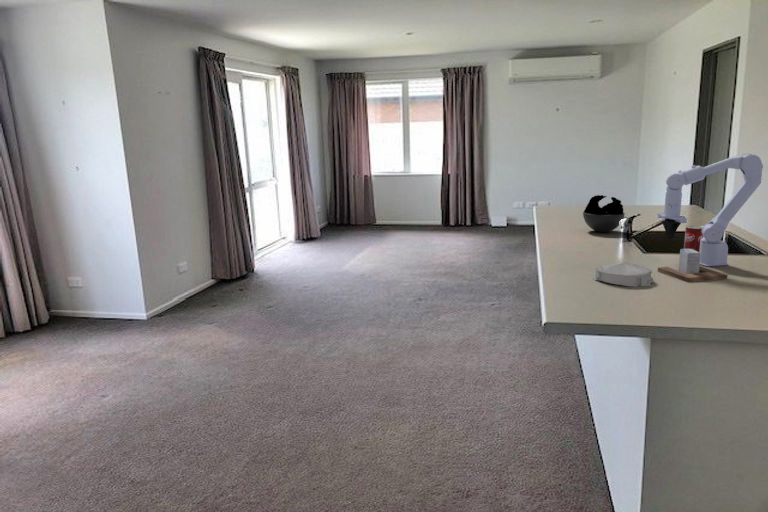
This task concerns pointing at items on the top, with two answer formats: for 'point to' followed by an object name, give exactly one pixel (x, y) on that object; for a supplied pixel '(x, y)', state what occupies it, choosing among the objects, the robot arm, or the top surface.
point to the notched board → (693, 274)
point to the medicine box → (689, 261)
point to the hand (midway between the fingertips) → (669, 238)
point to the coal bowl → (603, 214)
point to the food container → (624, 274)
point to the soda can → (693, 237)
